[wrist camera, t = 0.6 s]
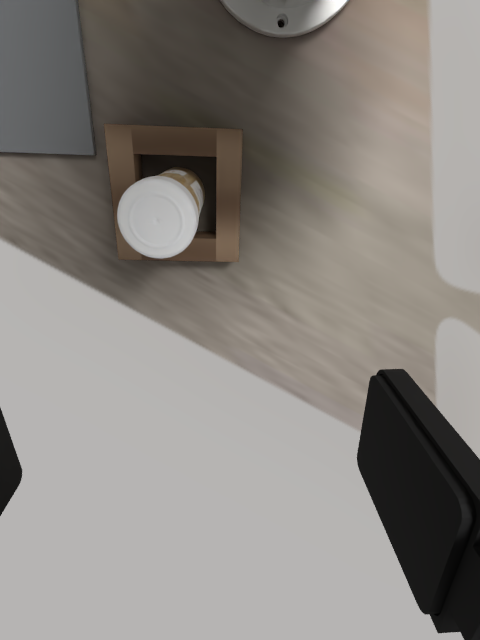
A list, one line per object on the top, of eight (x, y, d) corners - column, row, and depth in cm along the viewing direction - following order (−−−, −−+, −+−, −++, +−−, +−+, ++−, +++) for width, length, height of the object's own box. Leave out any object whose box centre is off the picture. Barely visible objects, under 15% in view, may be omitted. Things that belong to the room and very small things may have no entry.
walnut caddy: (114, 126, 30) (103, 123, 28) (240, 130, 31) (242, 129, 28) (126, 250, 35) (118, 259, 32) (237, 253, 35) (238, 261, 33)
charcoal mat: (-103, -41, 25) (-110, -45, 25) (74, -30, 26) (71, -33, 26) (-51, 149, 31) (-56, 149, 30) (96, 155, 31) (94, 155, 31)
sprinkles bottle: (166, 156, 32) (132, 161, 19) (214, 182, 33) (210, 202, 20) (147, 206, 33) (103, 239, 21) (193, 229, 34) (177, 273, 22)
